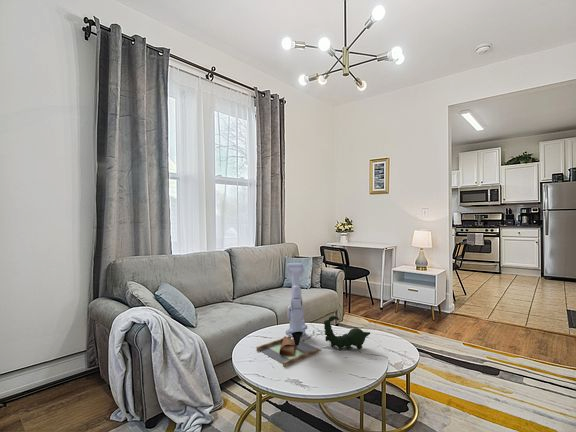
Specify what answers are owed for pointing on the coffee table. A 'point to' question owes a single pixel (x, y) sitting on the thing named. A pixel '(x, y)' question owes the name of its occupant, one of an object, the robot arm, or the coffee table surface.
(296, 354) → the zone mats
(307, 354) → the lane rails
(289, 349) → the sunglasses case
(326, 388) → the coffee table surface
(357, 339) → the toy figurine
